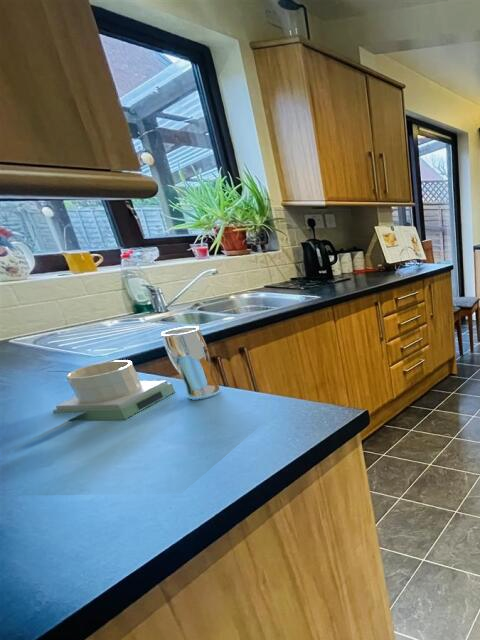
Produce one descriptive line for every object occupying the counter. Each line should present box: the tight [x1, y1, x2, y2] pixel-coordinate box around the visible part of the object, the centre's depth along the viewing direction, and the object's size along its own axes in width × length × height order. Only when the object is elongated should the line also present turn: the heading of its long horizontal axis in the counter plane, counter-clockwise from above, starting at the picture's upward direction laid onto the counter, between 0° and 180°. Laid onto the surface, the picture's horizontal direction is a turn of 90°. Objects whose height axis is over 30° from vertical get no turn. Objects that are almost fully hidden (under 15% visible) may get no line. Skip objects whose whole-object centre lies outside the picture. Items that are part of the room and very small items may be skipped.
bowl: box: [65, 359, 142, 403], centre depth 84 cm, size 10×10×6 cm
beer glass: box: [160, 326, 221, 401], centre depth 88 cm, size 7×7×15 cm
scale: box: [52, 380, 176, 422], centre depth 86 cm, size 14×13×3 cm
